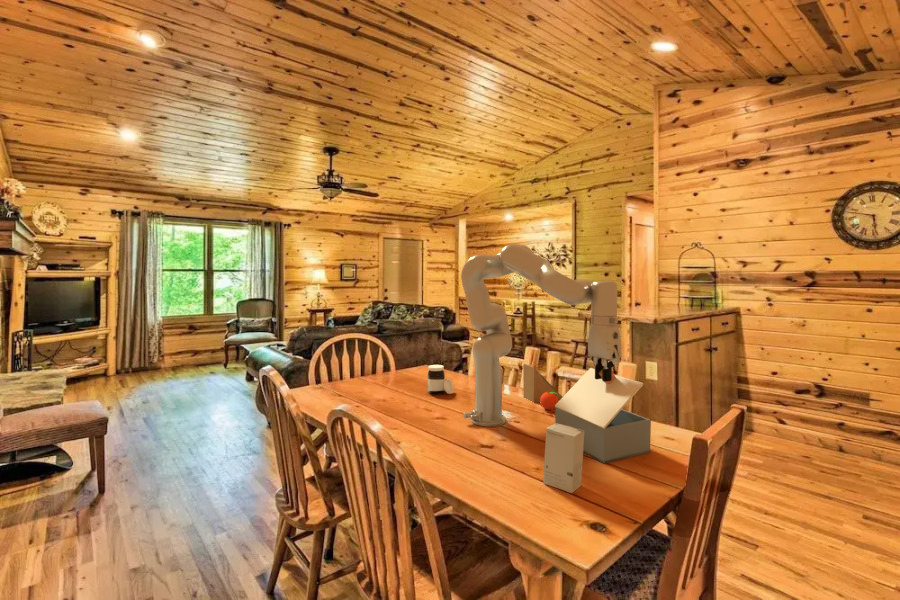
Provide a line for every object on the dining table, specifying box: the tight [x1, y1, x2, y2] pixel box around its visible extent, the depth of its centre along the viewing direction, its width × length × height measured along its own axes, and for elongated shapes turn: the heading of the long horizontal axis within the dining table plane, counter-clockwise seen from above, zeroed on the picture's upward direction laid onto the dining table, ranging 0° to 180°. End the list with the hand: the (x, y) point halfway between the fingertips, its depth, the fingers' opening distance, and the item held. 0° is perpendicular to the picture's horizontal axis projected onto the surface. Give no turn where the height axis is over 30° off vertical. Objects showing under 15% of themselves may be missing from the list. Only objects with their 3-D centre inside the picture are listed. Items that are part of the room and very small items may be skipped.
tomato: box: [539, 392, 559, 411], centre depth 176 cm, size 8×7×7 cm
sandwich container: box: [522, 363, 563, 403], centre depth 191 cm, size 9×15×15 cm, turn 112°
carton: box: [554, 407, 652, 465], centre depth 141 cm, size 18×22×10 cm
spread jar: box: [427, 364, 454, 395], centre depth 202 cm, size 12×11×12 cm
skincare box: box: [543, 423, 584, 494], centre depth 116 cm, size 8×6×15 cm
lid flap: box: [555, 367, 644, 429], centre depth 139 cm, size 18×22×5 cm
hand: (603, 379), depth 141 cm, fingers closed on lid flap, 2 cm apart
